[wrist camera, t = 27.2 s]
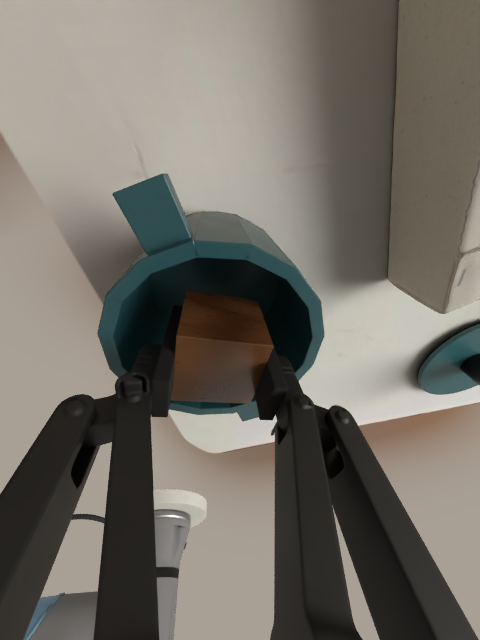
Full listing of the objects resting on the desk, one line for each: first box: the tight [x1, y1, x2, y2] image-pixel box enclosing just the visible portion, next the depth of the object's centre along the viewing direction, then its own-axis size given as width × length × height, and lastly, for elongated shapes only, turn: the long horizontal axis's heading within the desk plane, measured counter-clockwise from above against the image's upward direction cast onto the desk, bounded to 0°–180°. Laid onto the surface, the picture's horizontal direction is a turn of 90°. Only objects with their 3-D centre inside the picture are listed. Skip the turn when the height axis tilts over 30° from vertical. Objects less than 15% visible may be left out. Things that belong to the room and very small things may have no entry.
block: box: [171, 290, 273, 404], centre depth 14 cm, size 5×5×5 cm
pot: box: [98, 174, 324, 421], centre depth 18 cm, size 14×19×10 cm
